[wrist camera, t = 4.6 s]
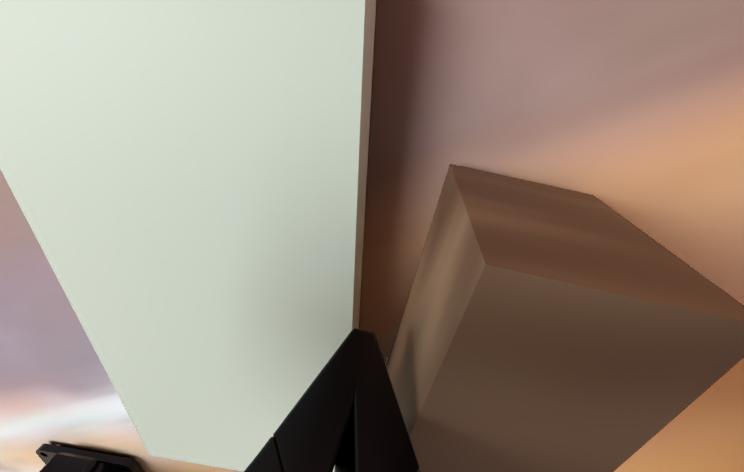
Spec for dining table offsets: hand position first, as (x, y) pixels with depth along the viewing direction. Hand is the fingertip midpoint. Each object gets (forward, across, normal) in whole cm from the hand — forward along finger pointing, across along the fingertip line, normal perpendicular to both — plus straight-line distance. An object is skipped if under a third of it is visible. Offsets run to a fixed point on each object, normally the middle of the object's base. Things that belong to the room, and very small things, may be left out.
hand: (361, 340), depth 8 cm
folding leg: (+3, -4, +3) cm, 6 cm away
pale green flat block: (+3, +5, +2) cm, 6 cm away
